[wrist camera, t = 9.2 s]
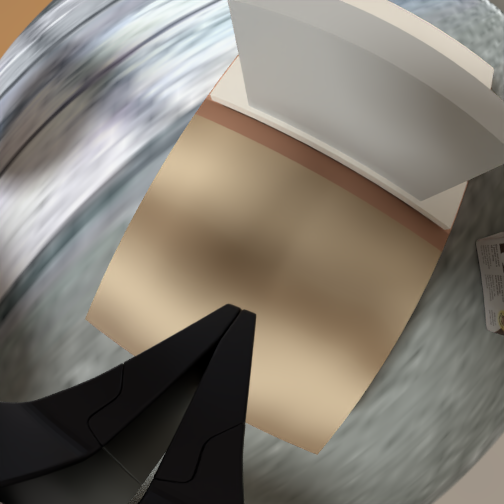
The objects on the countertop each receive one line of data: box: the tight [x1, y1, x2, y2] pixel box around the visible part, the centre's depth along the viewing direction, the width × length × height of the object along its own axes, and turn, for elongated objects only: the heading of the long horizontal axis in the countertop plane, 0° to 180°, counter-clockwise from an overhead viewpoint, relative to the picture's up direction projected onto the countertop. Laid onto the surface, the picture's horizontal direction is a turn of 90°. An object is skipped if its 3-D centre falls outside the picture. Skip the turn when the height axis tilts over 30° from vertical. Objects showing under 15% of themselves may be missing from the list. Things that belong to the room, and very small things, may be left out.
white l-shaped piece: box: [210, 0, 504, 230], centre depth 10 cm, size 12×13×8 cm
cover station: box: [85, 55, 492, 454], centre depth 16 cm, size 24×14×3 cm, turn 150°
